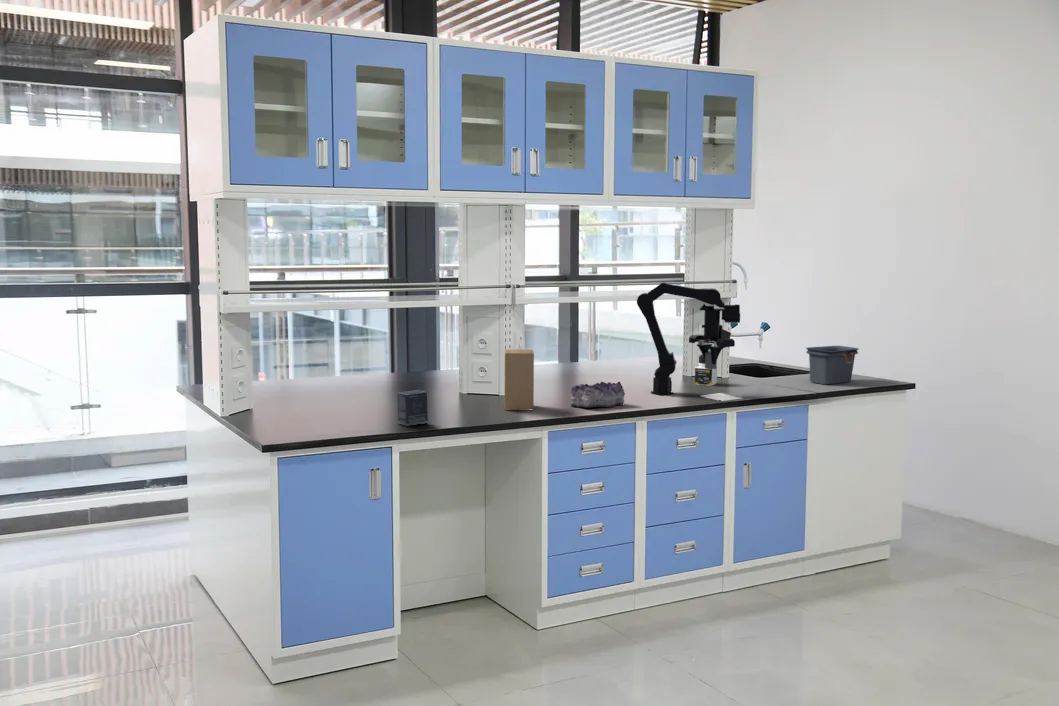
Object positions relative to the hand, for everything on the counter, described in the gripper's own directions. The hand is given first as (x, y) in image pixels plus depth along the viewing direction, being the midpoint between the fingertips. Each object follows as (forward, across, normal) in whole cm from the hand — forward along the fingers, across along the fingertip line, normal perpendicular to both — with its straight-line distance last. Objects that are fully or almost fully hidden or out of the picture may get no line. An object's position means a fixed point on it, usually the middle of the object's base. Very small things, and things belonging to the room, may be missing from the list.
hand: (710, 363), depth 366 cm
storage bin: (+13, -6, -64) cm, 66 cm away
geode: (+12, +7, +49) cm, 51 cm away
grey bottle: (+2, 0, 0) cm, 2 cm away
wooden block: (+12, +19, +75) cm, 78 cm away
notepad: (+12, -6, 0) cm, 13 cm away
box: (+12, +15, +119) cm, 120 cm away
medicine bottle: (+12, +20, -17) cm, 29 cm away
